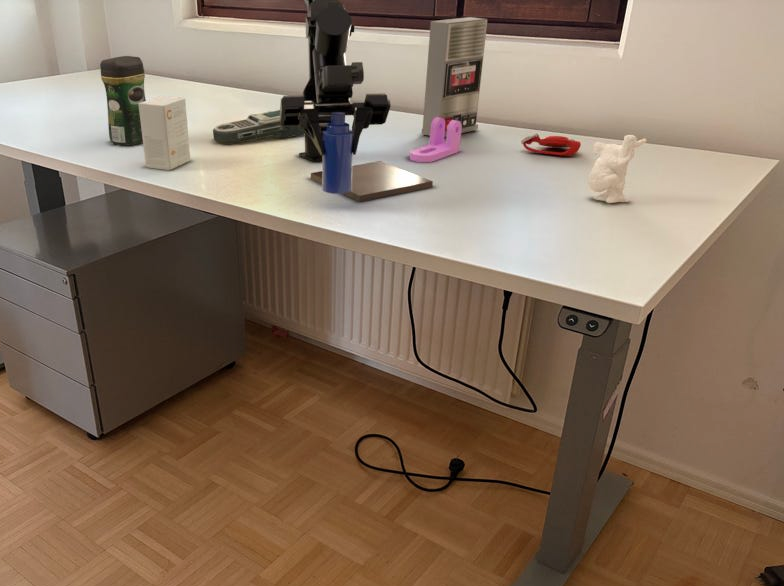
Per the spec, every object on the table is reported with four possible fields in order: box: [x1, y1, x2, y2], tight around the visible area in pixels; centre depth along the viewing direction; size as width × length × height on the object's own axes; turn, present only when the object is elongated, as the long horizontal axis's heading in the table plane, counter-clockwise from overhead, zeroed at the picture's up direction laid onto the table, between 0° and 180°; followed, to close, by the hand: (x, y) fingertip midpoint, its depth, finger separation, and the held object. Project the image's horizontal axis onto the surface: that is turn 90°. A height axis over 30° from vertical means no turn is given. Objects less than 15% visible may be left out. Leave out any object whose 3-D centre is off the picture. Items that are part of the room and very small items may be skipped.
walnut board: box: [310, 160, 434, 203], centre depth 145 cm, size 17×17×1 cm
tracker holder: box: [520, 133, 582, 157], centre depth 163 cm, size 12×4×10 cm
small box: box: [138, 95, 191, 171], centre depth 154 cm, size 8×6×13 cm
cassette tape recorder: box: [420, 16, 489, 138], centre depth 174 cm, size 14×6×25 cm, turn 129°
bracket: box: [409, 117, 462, 163], centre depth 161 cm, size 13×6×7 cm, turn 138°
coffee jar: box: [99, 55, 147, 146], centre depth 169 cm, size 10×8×19 cm
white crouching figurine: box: [588, 134, 647, 204], centre depth 132 cm, size 8×7×12 cm
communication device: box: [212, 109, 305, 145], centre depth 176 cm, size 12×24×9 cm, turn 117°
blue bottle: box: [321, 112, 354, 195], centre depth 128 cm, size 5×5×13 cm
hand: (338, 154), depth 127 cm, fingers closed on blue bottle, 5 cm apart
